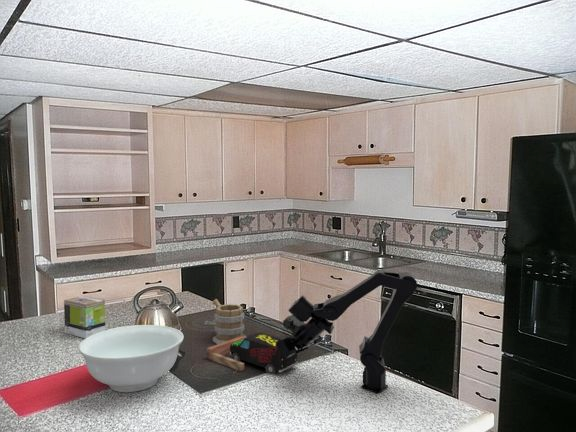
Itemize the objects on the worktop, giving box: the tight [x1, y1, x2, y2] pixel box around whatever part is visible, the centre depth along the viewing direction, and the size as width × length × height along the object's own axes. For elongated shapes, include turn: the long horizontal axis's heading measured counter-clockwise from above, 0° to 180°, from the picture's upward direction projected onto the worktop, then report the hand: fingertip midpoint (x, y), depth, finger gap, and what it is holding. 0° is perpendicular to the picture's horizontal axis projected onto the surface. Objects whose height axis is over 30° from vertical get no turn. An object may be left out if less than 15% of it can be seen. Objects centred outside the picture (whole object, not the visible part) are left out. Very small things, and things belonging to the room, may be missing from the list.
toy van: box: [229, 332, 299, 375], centre depth 172 cm, size 11×25×10 cm, turn 52°
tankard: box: [212, 298, 247, 345], centre depth 199 cm, size 20×13×15 cm, turn 34°
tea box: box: [63, 295, 106, 339], centre depth 204 cm, size 15×10×15 cm, turn 58°
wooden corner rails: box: [206, 336, 245, 372], centre depth 178 cm, size 18×18×4 cm
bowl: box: [78, 324, 184, 393], centre depth 156 cm, size 32×32×15 cm
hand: (285, 354), depth 164 cm, fingers closed, pressing on toy van
